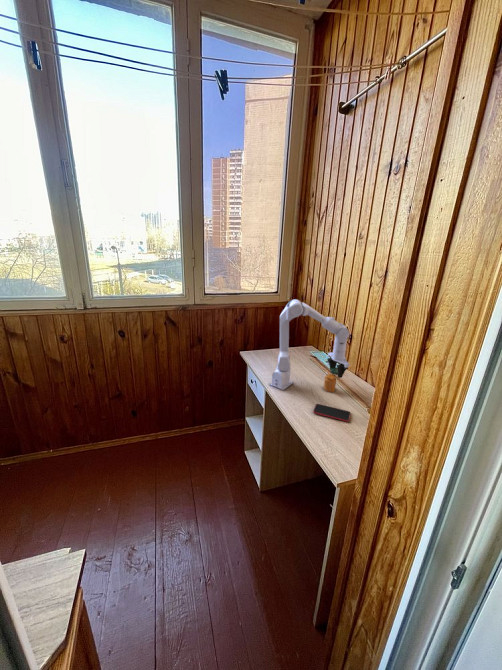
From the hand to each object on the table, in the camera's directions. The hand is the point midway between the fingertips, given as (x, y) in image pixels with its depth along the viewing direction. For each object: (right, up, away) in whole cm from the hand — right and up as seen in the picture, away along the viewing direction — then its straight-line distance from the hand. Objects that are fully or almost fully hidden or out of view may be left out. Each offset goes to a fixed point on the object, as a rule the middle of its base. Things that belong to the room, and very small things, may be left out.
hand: (336, 374), depth 148 cm
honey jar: (-3, -7, 0) cm, 8 cm away
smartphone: (-8, -14, -20) cm, 26 cm away
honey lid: (0, +2, -1) cm, 2 cm away
